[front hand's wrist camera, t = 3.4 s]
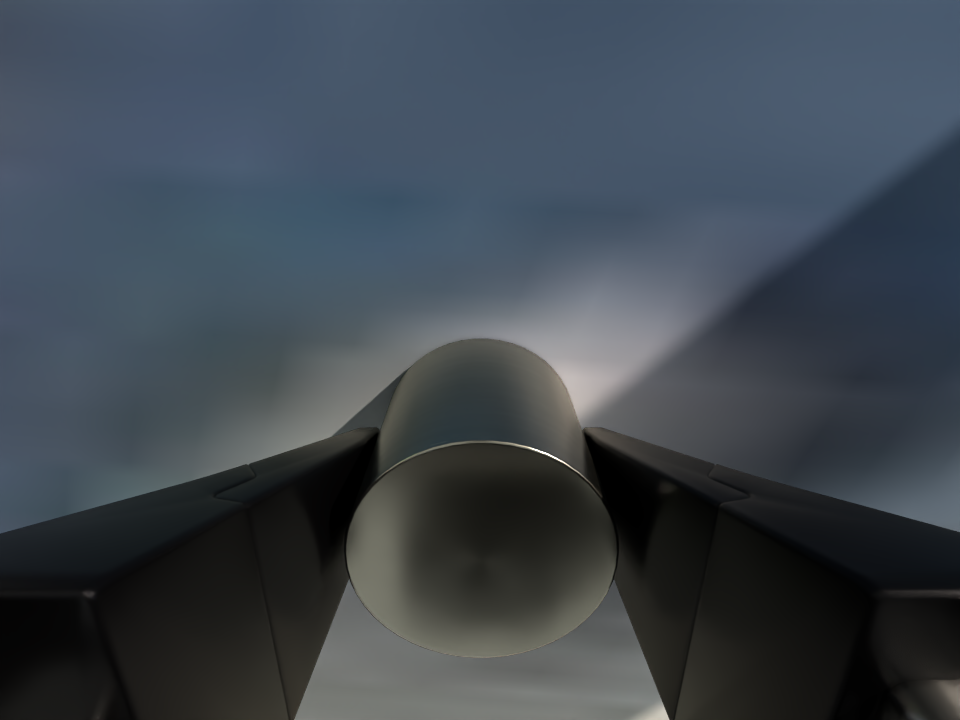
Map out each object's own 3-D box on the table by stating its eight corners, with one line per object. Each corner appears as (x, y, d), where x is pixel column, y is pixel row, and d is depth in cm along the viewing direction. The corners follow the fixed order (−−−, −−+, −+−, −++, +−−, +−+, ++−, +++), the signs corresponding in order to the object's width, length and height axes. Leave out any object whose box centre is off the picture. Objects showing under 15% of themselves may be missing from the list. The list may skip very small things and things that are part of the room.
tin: (368, 473, 13) (316, 625, 9) (417, 312, 11) (382, 404, 7) (534, 520, 13) (558, 682, 9) (602, 371, 12) (667, 488, 8)
